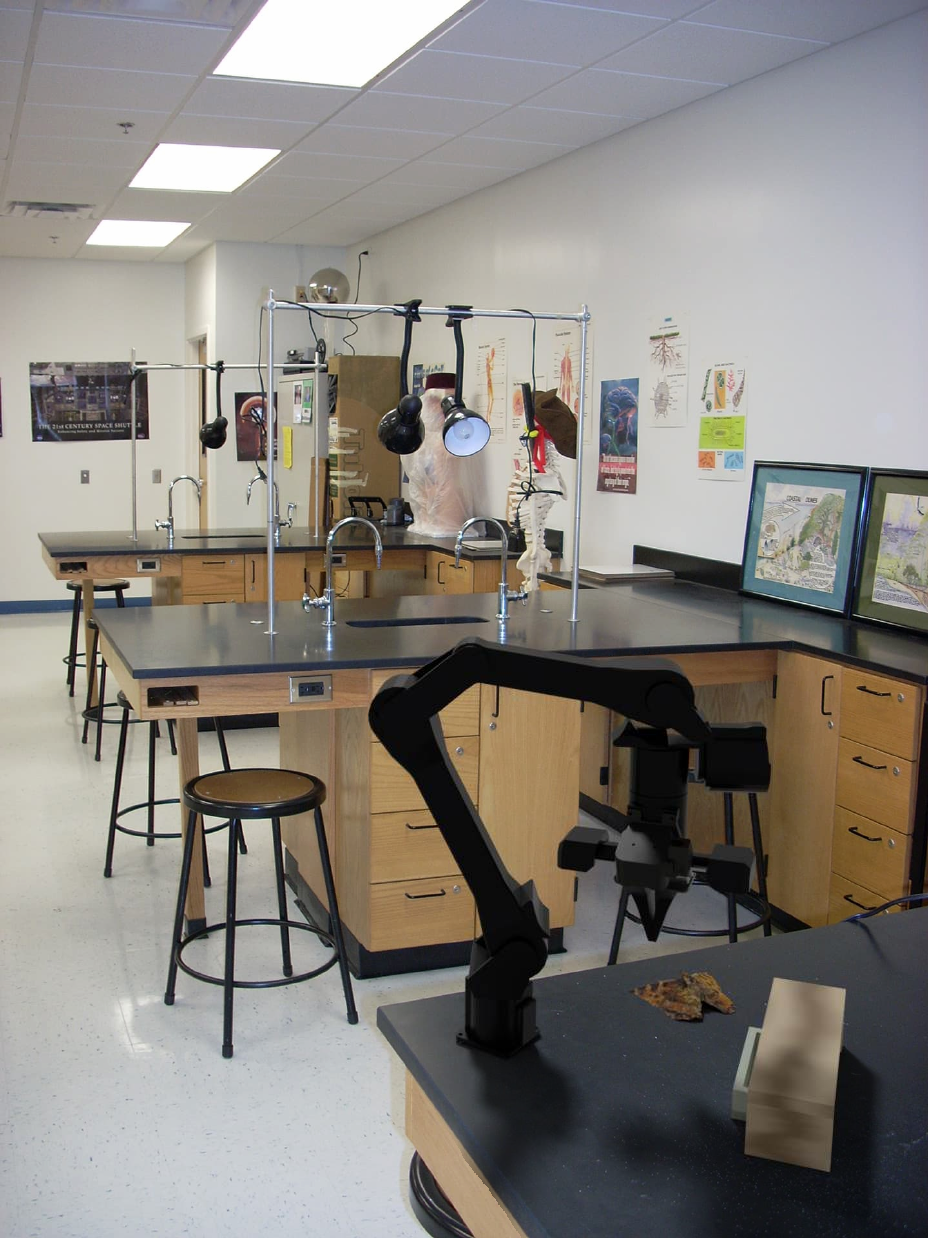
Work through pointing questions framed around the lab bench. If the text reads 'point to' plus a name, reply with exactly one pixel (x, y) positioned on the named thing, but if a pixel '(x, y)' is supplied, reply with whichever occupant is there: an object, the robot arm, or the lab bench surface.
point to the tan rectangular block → (796, 1075)
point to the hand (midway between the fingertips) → (653, 940)
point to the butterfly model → (685, 996)
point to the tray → (744, 1074)
